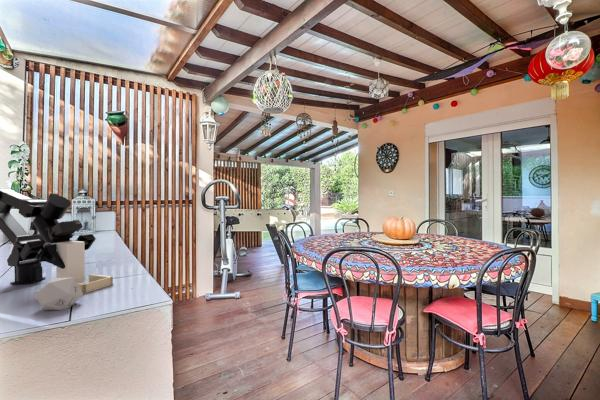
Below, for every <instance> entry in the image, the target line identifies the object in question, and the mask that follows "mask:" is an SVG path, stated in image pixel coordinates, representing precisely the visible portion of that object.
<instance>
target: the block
mask: <svg viewBox="0 0 600 400" xmlns="http://www.w3.org/2000/svg"><path fill="white" fill-rule="evenodd" d="M56 251H57V253H58V255H59V256H60V258H61V259H62V261H63V262H64V264H65V268H64V269H62V268H60V267H57V266H56V278H71V277H74V278H75V280H76V282H77V283H83V282H85V280H86V279H85V277H86V275H85V272H86V271H85V269H86V267H85V266H86V265H85V260H86V257H85V254H86V253H85V251H86V250H85V242H83V241H74V240H73V241H69V242H61V243H57V250H56Z"/></svg>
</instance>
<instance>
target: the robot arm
mask: <svg viewBox="0 0 600 400" xmlns="http://www.w3.org/2000/svg"><path fill="white" fill-rule="evenodd" d="M71 204H72V203H71V200H70V199H67V198H66V197H64V196H61V195H59V194H58V193H50V194H49V196H48V197H47V199H42V198H41V199H40V198H39V199H38V198H31V197H29V196H26V195H24V194H22V193H20V192H16V190H13V189H6V188H3V189H1V188H0V230H1V232H2V234H4V236H5V237H6V238H7V239H8V240H9V242H10V243H11V244H12V250H11V252H10V255H9V256H8V258H7V259H6V263H7V266H8V267H14V281H12V282H9V284H10V285H30V284H33V283H36V282H39V281H42V280H45V279H46V276H43V266H42V263H43V262H46V263H48V264H51V265H54V266H55V267H56V268H57V267H60V268H62V269H64V268H65V264H64V262H63V261H62V259H61V258H60V256H59V255H58V253H57V243H61V242H69V241H83V242H85V251H87V250H89V249H90V248H91V246H92V245H93V244H94V242H95V240H97V238H96V237H95V236H94V234H93V233H87V234H80V235H78V237H77V238H76V239H75V240H73V239H72V238H73V237H74V233H75V232H78V231H80V230H81V229H82V228H83V227H84V226H83V223H82V222H81V220H80V219H73V220H68V221H60V222H59V220H61V219H63V217H64V216H65V214H66V213H67V211H68V210H69V209H70V207H71ZM12 208H15V209H17V210H18V214H19V215H21V216H22V217H23V218H26V219H28V218H30V219H31V218H34V219H33V220H32V223H31V225H30V227H31V228H30V229H31V230H37V231H38V234H29V233H28V231H27V230H26V229H25V227H23V226H22V225H21V224H20V223H19V221H18V220H17V219H16V218H15V217H14V216H13V215H12V214H11V211H12Z"/></svg>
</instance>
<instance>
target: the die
mask: <svg viewBox="0 0 600 400" xmlns="http://www.w3.org/2000/svg"><path fill="white" fill-rule="evenodd" d="M83 295H84V294H83V293H82V291H81V289H80V288H79V286H78V284H77V282H76V280H75V278H74V277H71V278H57V277H53V278H52V279H51V280H50V281H49V282H47V283H46V284H45V285H44V286H43V287H41V288H40V289H39V290H38V291H37V292H36V293H34V296H35V298H36V299H37V301H38V303H39V305H40V307H41V308H42V310H44V311H61V310H66V309H69V308H71V307H72V306H73V305H74V304H75V303H76V302H77V301H79V299H81V297H82V296H83Z"/></svg>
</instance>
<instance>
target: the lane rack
mask: <svg viewBox="0 0 600 400" xmlns="http://www.w3.org/2000/svg"><path fill="white" fill-rule="evenodd" d="M113 279H114V278H113V276H110V275H101V274H92V273H91V274H89V275H88V280H86V279H85V282H83V283H77V284H78V286H79V288H80V289H81V291H82V293H83V295H84V294H87V293H90V292H93V291H97V290H100V289H104V288H106V287H110V286H113V285H115V283H114V282H113V281H114V280H113Z"/></svg>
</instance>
